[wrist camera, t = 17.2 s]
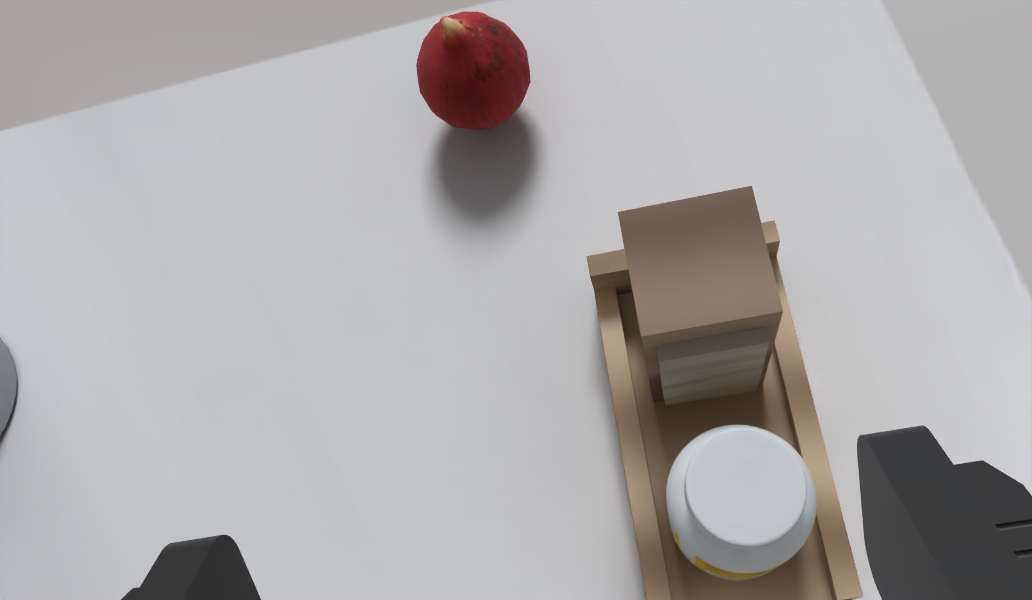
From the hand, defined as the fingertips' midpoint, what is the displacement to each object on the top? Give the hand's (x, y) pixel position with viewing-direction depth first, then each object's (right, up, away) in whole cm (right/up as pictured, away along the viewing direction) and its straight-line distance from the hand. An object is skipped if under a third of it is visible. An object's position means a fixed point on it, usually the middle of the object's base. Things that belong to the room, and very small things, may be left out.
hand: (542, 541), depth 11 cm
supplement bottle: (+9, -6, +28) cm, 30 cm away
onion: (-2, +14, +39) cm, 41 cm away
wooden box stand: (+9, -3, +30) cm, 32 cm away
